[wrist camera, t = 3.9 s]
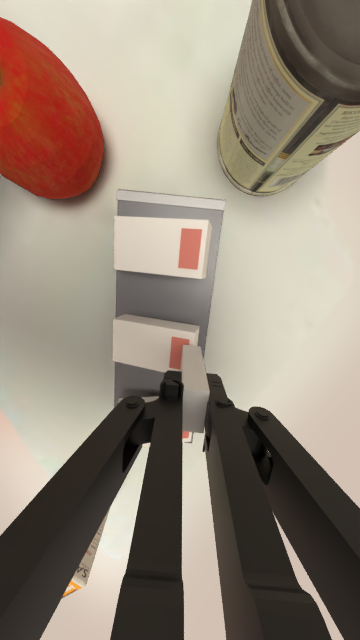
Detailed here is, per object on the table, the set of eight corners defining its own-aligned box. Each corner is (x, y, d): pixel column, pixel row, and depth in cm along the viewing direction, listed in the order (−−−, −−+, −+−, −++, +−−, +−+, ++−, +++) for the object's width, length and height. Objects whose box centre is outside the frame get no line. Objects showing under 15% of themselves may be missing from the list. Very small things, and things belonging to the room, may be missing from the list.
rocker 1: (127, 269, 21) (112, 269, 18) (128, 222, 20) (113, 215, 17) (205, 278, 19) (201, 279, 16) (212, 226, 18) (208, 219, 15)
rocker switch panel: (122, 414, 30) (110, 441, 25) (128, 202, 23) (113, 185, 18) (191, 420, 30) (193, 449, 25) (218, 211, 23) (227, 196, 18)
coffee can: (275, 50, 19) (489, -456, 6) (336, 142, 21) (610, -82, 8) (195, 140, 21) (216, -83, 8) (257, 217, 23) (363, 147, 9)
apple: (9, 93, 21) (-159, -75, 11) (111, 96, 21) (41, -71, 10) (25, 205, 23) (-97, 158, 13) (115, 208, 23) (62, 162, 13)
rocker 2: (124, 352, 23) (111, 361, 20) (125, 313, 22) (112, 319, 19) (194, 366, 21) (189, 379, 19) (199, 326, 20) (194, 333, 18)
